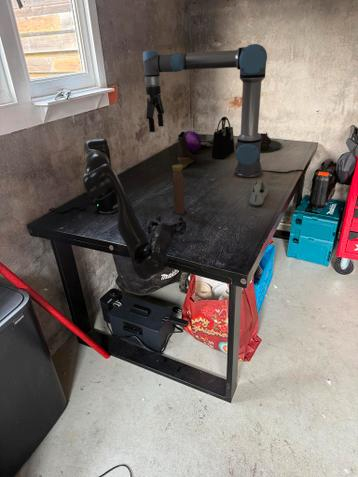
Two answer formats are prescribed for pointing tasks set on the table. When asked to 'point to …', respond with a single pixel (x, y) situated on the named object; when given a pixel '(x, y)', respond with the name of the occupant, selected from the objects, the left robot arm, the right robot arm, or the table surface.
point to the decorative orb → (193, 141)
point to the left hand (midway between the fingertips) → (170, 218)
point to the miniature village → (268, 144)
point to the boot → (184, 151)
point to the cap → (177, 167)
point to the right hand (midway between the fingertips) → (156, 129)
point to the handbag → (223, 140)
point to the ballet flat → (258, 193)
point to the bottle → (178, 192)
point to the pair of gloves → (207, 141)
